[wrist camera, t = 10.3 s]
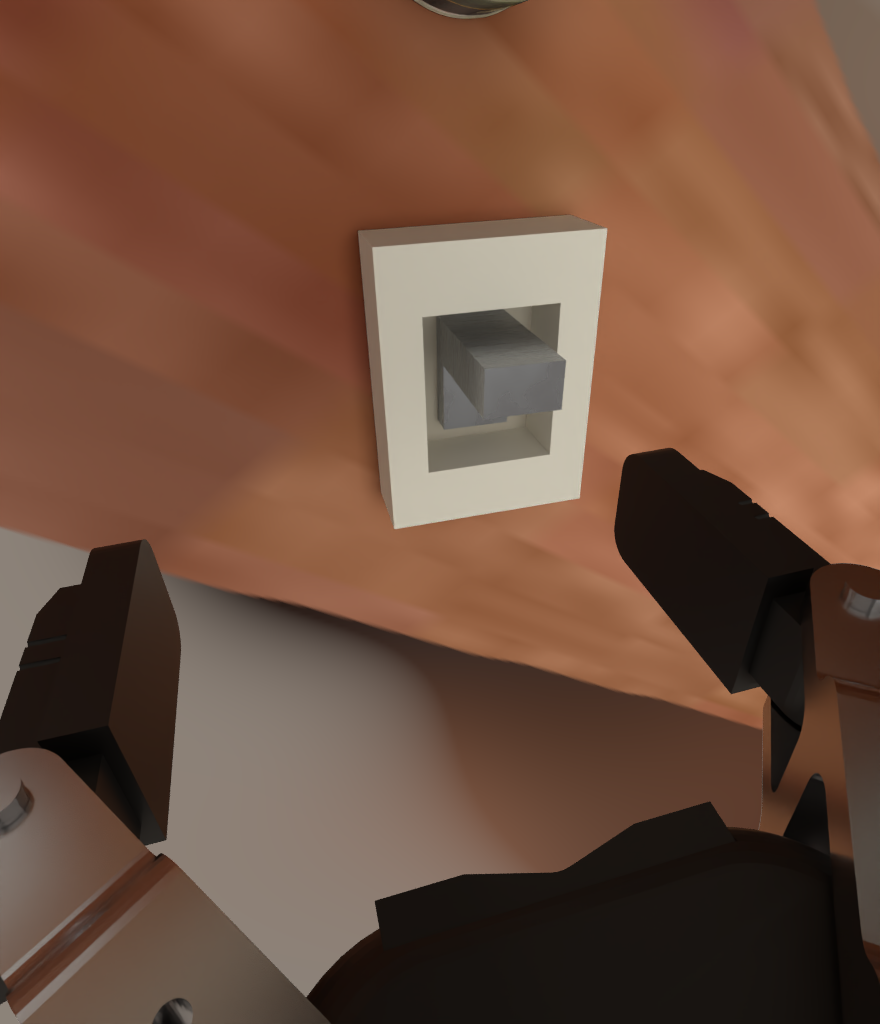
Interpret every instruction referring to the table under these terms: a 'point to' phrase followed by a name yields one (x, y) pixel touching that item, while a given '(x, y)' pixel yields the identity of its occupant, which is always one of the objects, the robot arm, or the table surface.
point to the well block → (413, 360)
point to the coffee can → (468, 7)
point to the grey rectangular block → (493, 370)
